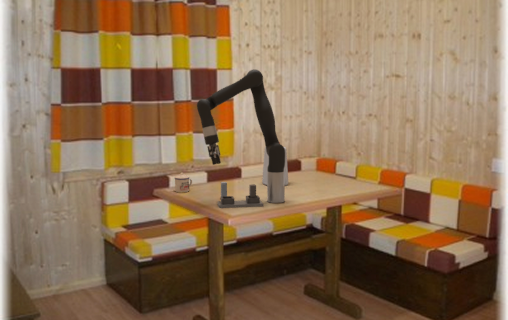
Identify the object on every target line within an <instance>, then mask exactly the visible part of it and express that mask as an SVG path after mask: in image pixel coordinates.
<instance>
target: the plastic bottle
mask: <svg viewBox="0 0 508 320" xmlns="http://www.w3.org/2000/svg"><path fill="white" fill-rule="evenodd" d="M279 143H280V144H281V142H280V141H279ZM283 147H284V149H285V167H284V185H285V187H286V186H288V184H289V172H288V171H289V170H288V155H287V154H288V152H287V147H286V146H283ZM263 153H264V154H263V166H262V178H261V179H262V181H261V182H262V184H263V185H264V186H267V168H268V165H269V156H268V154H267V152H266V146H264V151H263Z"/></svg>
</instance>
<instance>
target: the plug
mask: <svg viewBox="0 0 508 320" xmlns="http://www.w3.org/2000/svg"><path fill="white" fill-rule="evenodd" d="M222 196H228V182H227V181H221V182H220V198H221V197H222Z"/></svg>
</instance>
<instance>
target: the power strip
mask: <svg viewBox="0 0 508 320" xmlns="http://www.w3.org/2000/svg"><path fill="white" fill-rule="evenodd" d="M248 188H249V189H248V190H249V192H248V193H249V194H248V195H245V200H235V198H234V196H232V195H227V196H222V197H221V196H220V201H219V200H218V201H217V202H216V203H217V207H218V209H231V208H232V209H233V208H258V207H259V208H260V207H264V203H263V202H262V200H261V198H260V196H259V195H257V185H256V184H252V183H251V184H249V187H248Z"/></svg>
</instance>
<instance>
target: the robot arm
mask: <svg viewBox="0 0 508 320" xmlns="http://www.w3.org/2000/svg"><path fill="white" fill-rule="evenodd" d="M247 90H250V92H251V95H252V99H253V105H254V111H255V115H256V119H257V123H258V124H259V128H260V130H261V133H262V135H263V140H264V145H265V146H264V147H266V152H267V154H268V156H269V165H268V168H267V185H266V186H267V188H266V189H267V191H266V194H267V197H266V201H267V202H268V203H272V204H281V203H285V201H286V200H285V199H286V197H285V194H286V193H285V189H286V188H285V187H286V186H285V185H284V167H285V149H284V147H285V146H283V145H282V144H281V142H280V141H279V139H278V135H277V132H276V120H275V119H276V118H275V115H274V111H273V109H272V106H271V102H270V100H269V98H268V96H267V93H266V89H265V85H264V76H263V73H262V72H261V71H260V70H258V69H250V70H249V71H248V72H247V73H246V75H244V76H243V77H242V78H240V79H238V80H237V81H235V82H233V83H230V84H229V85H226V86H225V87H223V88H221V89H219V90H217V91H214V92H213V93H212V94H211V95H210V96H208V97H207V98H201V99H199V100H198V101H197V103H196V108H197V112H198V115H199V118H200V124H201V129H202V134H203V138H204V144H205V145H206V146H207V151H208V157H209V158H210V159H211V163H212V166H214V165H219V164H222V162H221V152H220V147H219V145H218V143H219V142H220V140H219V135H218V130H217V128H216V123H215V119H214V117H213V115H212V110H214V109H215V108H217V107H218V106H219V105H222V104H223V103H225V102H227V101H229V100H231V99H232V98H234V97H235V96H237V95H239V94H240V93H243V92H245V91H247ZM279 142H280V143H279Z"/></svg>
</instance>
